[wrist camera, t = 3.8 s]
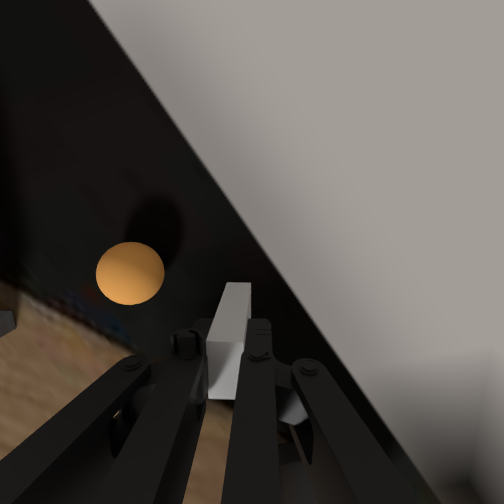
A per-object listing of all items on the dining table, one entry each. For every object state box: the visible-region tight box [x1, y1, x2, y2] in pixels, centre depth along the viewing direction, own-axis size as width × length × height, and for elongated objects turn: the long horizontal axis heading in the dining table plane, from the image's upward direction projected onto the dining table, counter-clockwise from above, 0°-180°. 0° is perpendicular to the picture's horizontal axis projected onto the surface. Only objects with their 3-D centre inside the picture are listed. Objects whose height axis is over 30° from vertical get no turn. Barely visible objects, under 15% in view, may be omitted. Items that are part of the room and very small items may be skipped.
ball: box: [96, 242, 164, 305], centre depth 25 cm, size 6×6×6 cm
